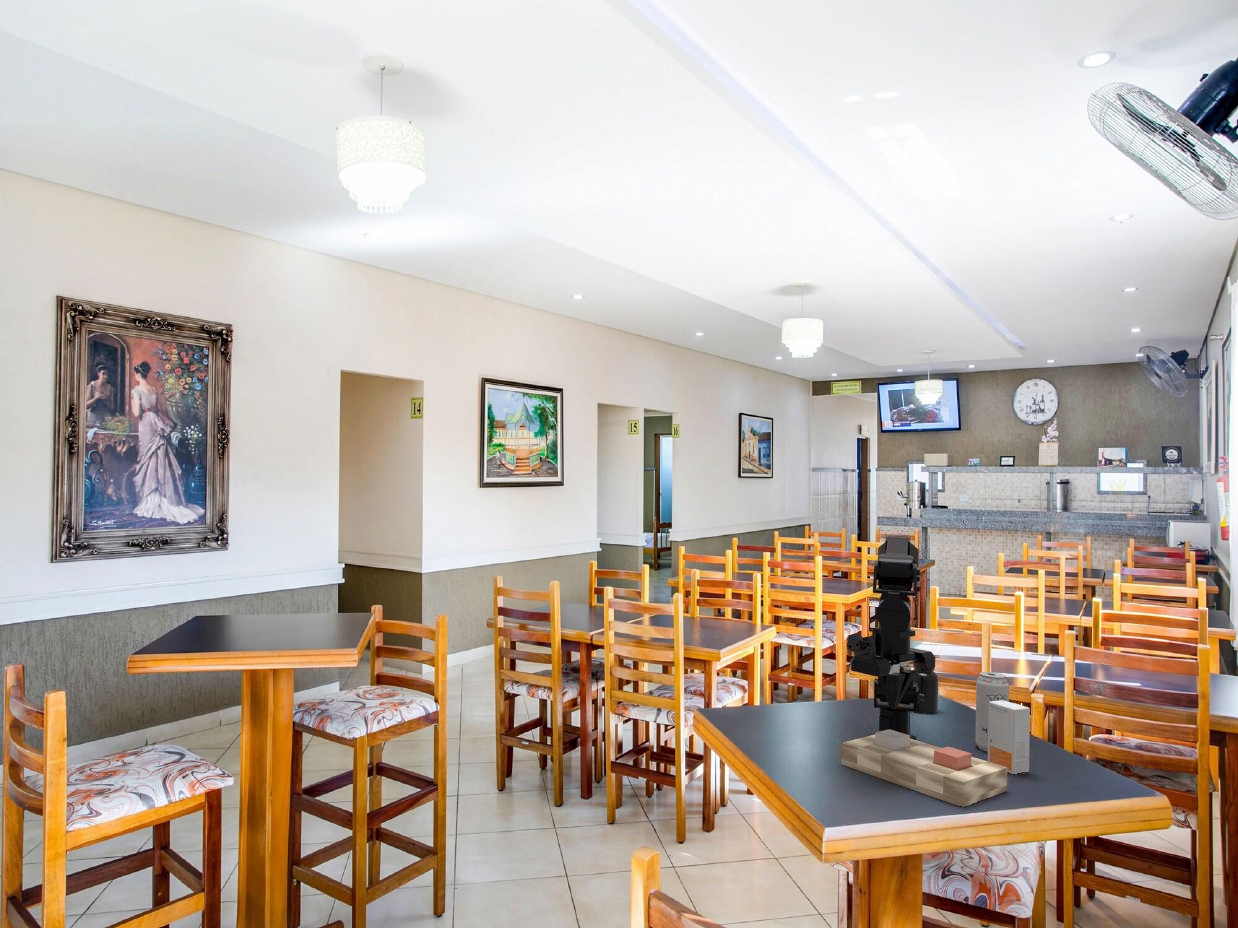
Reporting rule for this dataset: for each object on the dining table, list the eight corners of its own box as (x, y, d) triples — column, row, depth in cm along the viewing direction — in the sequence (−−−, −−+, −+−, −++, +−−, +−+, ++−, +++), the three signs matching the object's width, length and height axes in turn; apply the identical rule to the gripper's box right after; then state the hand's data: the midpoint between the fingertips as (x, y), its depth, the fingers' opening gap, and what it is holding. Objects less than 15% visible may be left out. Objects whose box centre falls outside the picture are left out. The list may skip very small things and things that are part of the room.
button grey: (888, 748, 149) (889, 729, 149) (909, 754, 146) (909, 735, 146) (874, 751, 147) (875, 732, 147) (895, 758, 143) (895, 739, 143)
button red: (947, 766, 140) (947, 746, 140) (971, 774, 136) (971, 753, 136) (933, 770, 137) (934, 750, 137) (957, 778, 133) (957, 757, 134)
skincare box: (986, 764, 150) (987, 701, 150) (1002, 762, 151) (1003, 699, 152) (1013, 775, 144) (1014, 709, 145) (1030, 772, 146) (1031, 707, 146)
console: (886, 752, 155) (886, 731, 155) (1007, 790, 136) (1007, 767, 136) (841, 764, 147) (841, 742, 147) (962, 807, 127) (963, 782, 128)
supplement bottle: (910, 713, 186) (911, 661, 186) (905, 705, 192) (905, 656, 193) (941, 715, 184) (942, 663, 185) (934, 708, 191) (935, 658, 192)
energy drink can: (984, 753, 156) (985, 677, 157) (969, 744, 162) (971, 670, 163) (1014, 754, 156) (1015, 678, 157) (998, 745, 162) (999, 671, 163)
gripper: (887, 614, 159) (885, 692, 159) (827, 620, 148) (825, 704, 148) (937, 623, 150) (936, 705, 150) (878, 629, 139) (876, 719, 139)
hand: (892, 708), depth 147 cm, fingers closed
